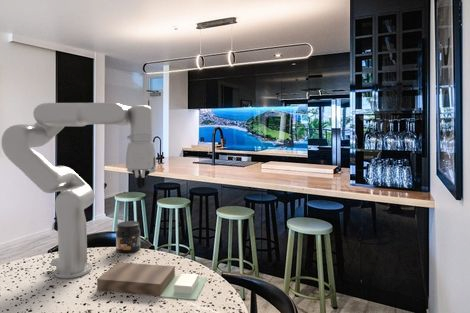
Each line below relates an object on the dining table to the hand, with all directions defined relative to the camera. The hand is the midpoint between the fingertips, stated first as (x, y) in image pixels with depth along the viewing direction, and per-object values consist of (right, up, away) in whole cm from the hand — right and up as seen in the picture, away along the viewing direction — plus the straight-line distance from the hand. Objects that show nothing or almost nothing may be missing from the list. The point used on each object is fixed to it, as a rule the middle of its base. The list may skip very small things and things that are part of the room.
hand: (141, 187), depth 118 cm
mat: (+18, -33, -10) cm, 39 cm away
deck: (+1, -33, -8) cm, 34 cm away
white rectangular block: (+19, -32, -10) cm, 38 cm away
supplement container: (-13, -31, +24) cm, 41 cm away
